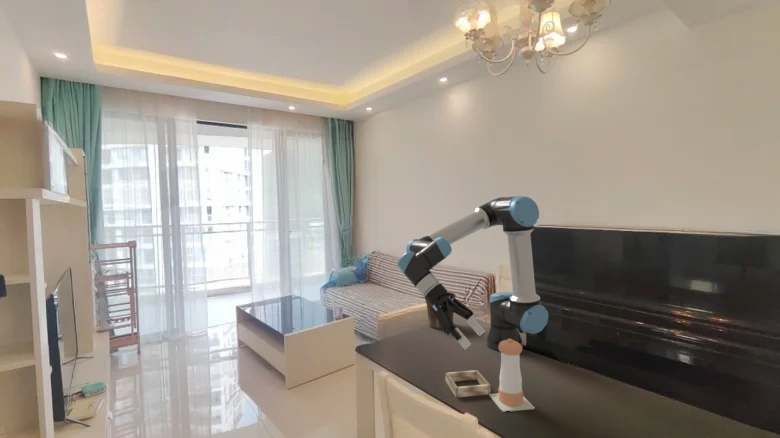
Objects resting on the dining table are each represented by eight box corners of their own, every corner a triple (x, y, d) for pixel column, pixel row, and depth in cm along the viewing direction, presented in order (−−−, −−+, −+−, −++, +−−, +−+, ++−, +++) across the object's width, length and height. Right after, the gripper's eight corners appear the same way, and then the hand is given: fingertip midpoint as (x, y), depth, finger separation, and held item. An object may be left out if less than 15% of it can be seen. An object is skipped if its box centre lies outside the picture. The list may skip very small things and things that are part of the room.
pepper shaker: (501, 392, 121) (500, 333, 120) (525, 397, 117) (524, 337, 117) (496, 402, 114) (495, 340, 114) (520, 408, 111) (519, 344, 110)
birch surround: (477, 378, 132) (477, 370, 132) (490, 394, 121) (490, 385, 121) (445, 381, 131) (445, 372, 131) (456, 397, 119) (455, 388, 119)
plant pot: (423, 330, 187) (422, 298, 186) (425, 320, 202) (425, 291, 202) (456, 331, 184) (456, 298, 183) (456, 321, 200) (455, 291, 199)
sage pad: (518, 392, 121) (518, 391, 121) (534, 409, 111) (534, 407, 111) (489, 395, 120) (489, 394, 120) (502, 412, 110) (502, 410, 110)
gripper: (440, 289, 140) (480, 335, 133) (407, 305, 119) (453, 360, 112) (453, 276, 138) (494, 322, 130) (422, 290, 116) (469, 346, 109)
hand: (475, 340), depth 121 cm, fingers open, 13 cm apart
